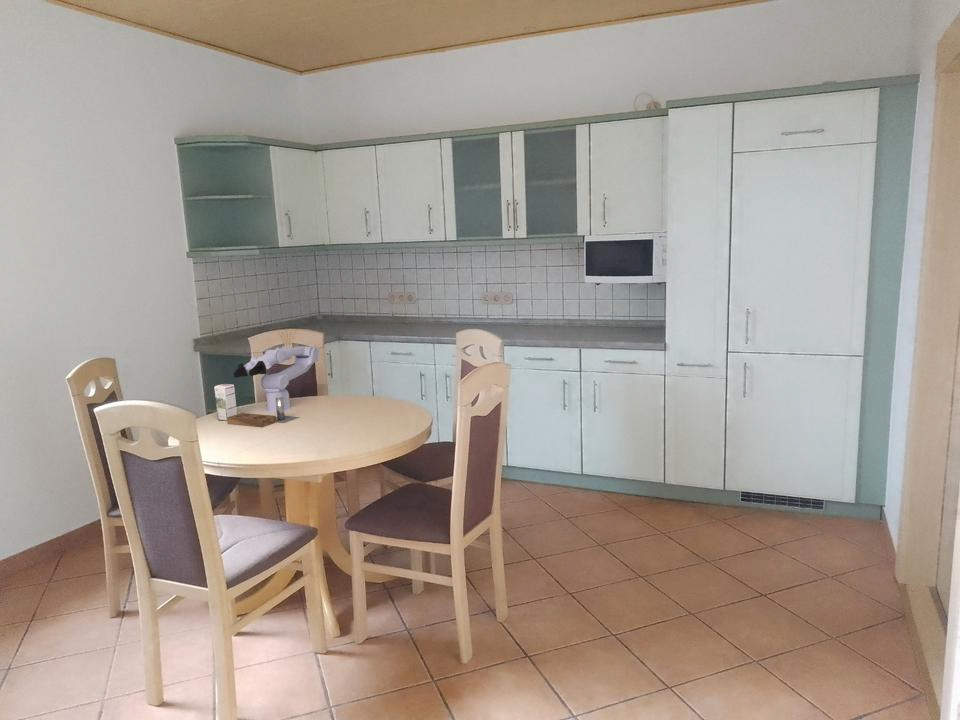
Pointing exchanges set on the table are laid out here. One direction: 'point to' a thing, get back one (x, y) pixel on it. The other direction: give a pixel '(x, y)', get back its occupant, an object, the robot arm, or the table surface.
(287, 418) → the rubber mat
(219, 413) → the syrup box
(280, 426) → the table surface
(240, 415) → the walnut hole block
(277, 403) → the peg
